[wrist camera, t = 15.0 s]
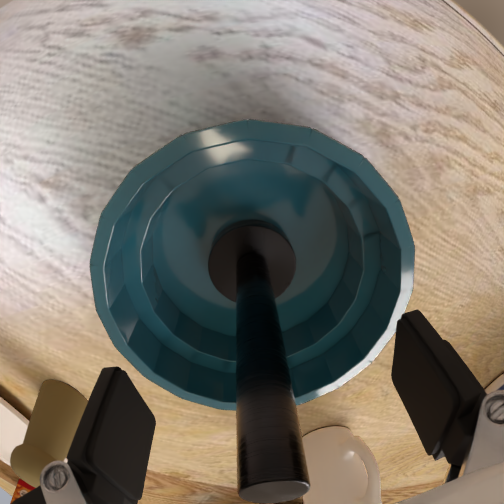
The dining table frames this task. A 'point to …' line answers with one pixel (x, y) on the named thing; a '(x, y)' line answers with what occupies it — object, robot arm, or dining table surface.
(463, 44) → the dining table surface
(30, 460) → the olive pawn
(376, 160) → the dining table surface
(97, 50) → the dining table surface
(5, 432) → the plate
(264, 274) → the black post stand
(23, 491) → the pasta box
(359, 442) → the mug
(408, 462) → the dining table surface
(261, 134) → the bowl
